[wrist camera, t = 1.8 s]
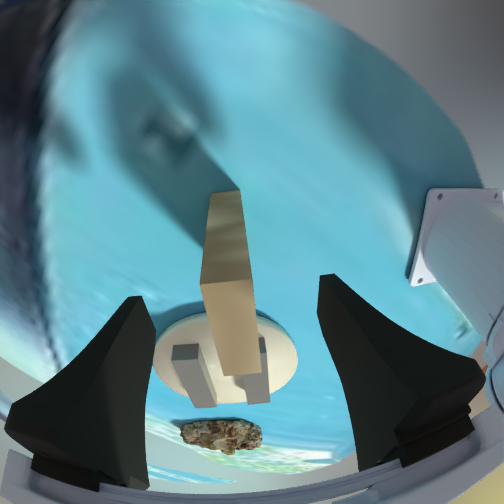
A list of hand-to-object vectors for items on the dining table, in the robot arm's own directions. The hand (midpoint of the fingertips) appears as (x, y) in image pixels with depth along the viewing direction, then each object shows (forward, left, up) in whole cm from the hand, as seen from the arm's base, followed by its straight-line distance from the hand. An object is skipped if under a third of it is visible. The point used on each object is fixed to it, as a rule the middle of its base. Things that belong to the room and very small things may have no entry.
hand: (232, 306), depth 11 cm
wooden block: (0, 0, -6) cm, 6 cm away
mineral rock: (+5, +28, -7) cm, 29 cm away
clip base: (+2, +12, -6) cm, 14 cm away
